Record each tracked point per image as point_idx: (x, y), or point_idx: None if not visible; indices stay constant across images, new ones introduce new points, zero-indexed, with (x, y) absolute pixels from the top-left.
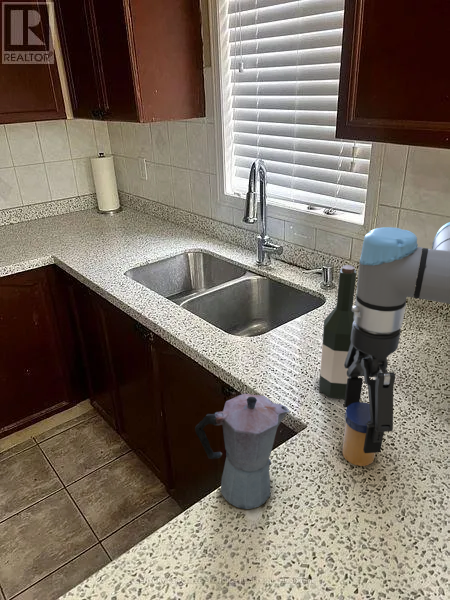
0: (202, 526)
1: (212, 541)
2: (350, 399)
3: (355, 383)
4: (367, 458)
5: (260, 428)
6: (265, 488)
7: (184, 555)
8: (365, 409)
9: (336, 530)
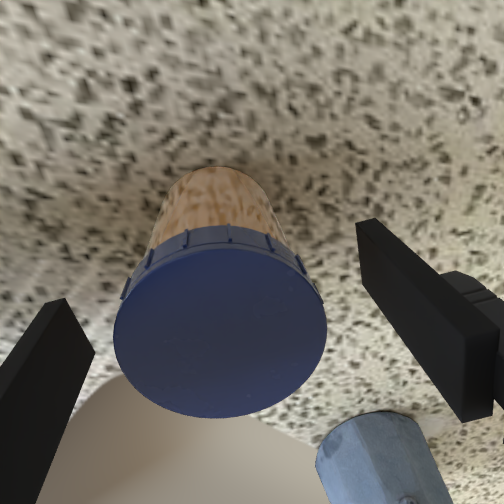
0: (450, 483)
1: (480, 465)
2: (69, 374)
3: (7, 471)
4: (273, 210)
5: None
6: (418, 450)
7: (499, 488)
8: (184, 338)
9: (488, 279)
